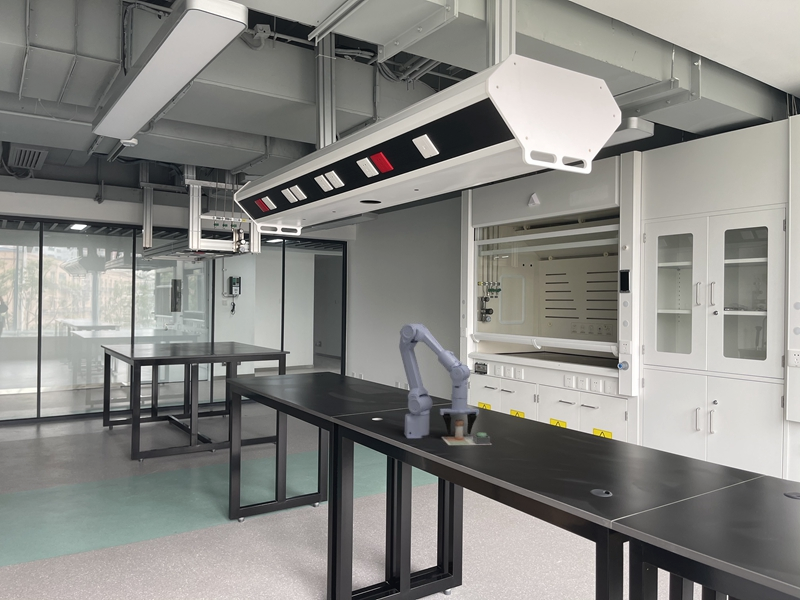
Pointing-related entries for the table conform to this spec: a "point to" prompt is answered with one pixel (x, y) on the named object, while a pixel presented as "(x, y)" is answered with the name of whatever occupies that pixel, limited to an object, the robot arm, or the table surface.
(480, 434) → the button
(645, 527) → the table surface
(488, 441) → the button housing
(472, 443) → the board
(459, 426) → the orange and grey cylinder
